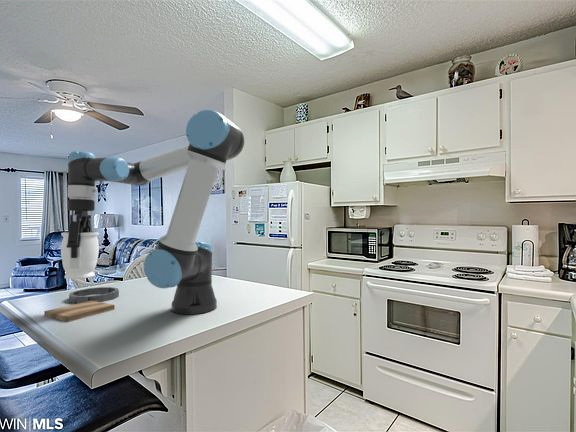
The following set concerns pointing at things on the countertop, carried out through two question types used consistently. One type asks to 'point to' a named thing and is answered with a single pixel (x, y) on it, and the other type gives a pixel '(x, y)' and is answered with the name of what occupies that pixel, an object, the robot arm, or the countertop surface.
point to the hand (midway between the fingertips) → (80, 265)
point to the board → (79, 310)
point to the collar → (81, 295)
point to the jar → (86, 259)
